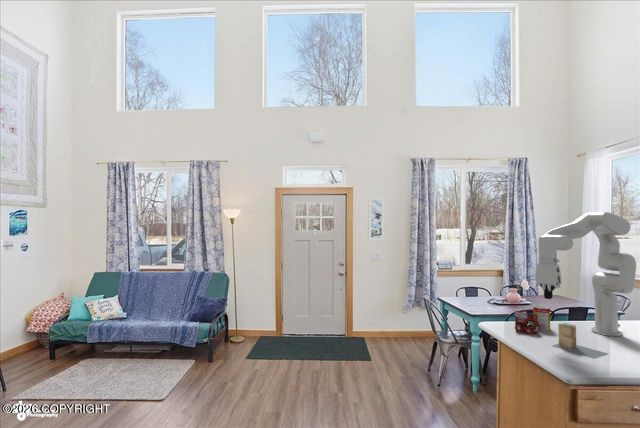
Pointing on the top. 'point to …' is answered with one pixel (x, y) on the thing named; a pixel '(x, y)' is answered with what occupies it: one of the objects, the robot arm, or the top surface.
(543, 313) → the canned food
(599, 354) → the mat
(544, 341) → the top surface
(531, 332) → the toy fire truck
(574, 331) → the oak block
